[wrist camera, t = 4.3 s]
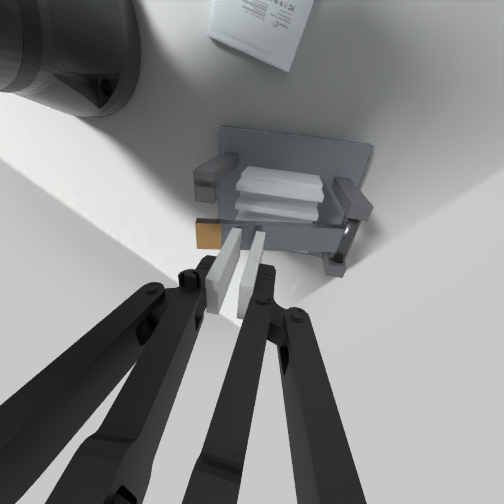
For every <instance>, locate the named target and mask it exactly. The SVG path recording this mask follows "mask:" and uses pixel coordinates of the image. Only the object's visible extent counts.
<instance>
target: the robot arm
mask: <svg viewBox="0 0 504 504" xmlns="http://www.w3.org/2000/svg"><path fill="white" fill-rule="evenodd" d="M139 68H140V41H139V33H138V27H137V22H136V17H135V13H134V10H133V6H132V3H131V0H0V92H7V93H14V94H16V95H19V96H21V97H24V98H27V99H29V100H32V101H35V102H37V103H40V104H43V105H45V106H48V107H50V108H53V109H56V110H58V111H61V112H64V113H67V114H70V115H75V116H82V117H100V116H107V115H110V114H113V113H115V112H117V111H118V110H120V109H121V108H122V107H123V106H124V105H125V104H126V103H127V102H128V100H129V99H130V97H131V95H132V93H133V91H134V89H135V86H136V83H137V79H138V75H139ZM241 233H242V229H240V228H234V227H233V228H232V229H231V231H230V233H229V235H228V237H227V239H226V241H225V243H224V244H223V246H222V248H221V250H220V252H219V254H218V256H217V257H216V256H210V255H207V256H205V257H204V258H202V260H201V261H200V263H199V264H198V266H197V268H196V269H195V270H194V269H188V270H184V271H182V272H180V273H179V274H178V278H179V287H177V288H166V289H165V288H164V286H163V284H161V283H158V282H152V283H148V284H146V285H144V286H142V287H141V288H140V289H139V290H137V291H136V292H135V293H134V294H133V295H131V296H130V297H129V298H128V299H127V300H125V301H124V302H123V303H122V304H121V305H119V306H118V307H117V308H116V309H115V310H114V311H112V312H111V313H110V314H109V315H108V316H107V317H105V318H104V319H103V320H102V321H100V322H99V323H98V324H97V325H96V326H94V327H93V328H92V329H91V330H90V331H89V332H87V333H86V334H85V335H84V336H83V337H81V338H80V339H79V340H78V341H77V342H75V343H74V344H73V345H72V346H71V347H69V348H68V349H67V350H66V351H65V352H63V353H62V354H61V355H60V356H59V357H58V358H56V359H55V360H54V361H53V362H52V363H50V364H49V365H48V366H47V367H46V368H44V370H42V371H41V372H40V373H39V374H37V375H36V376H35V377H34V378H32V380H30V381H29V382H28V383H27V384H26V385H24V386H23V387H22V388H21V389H20V390H18V391H17V392H16V393H15V394H14V395H12V396H11V397H10V398H9V399H7V400H6V401H5V402H4V403H3V404H2V405H0V504H15V503H16V502H17V501H18V500H19V499H20V498H21V497H22V496H23V495H24V494H25V493H26V491H27V490H28V489H29V488H30V487H31V486H32V485H33V484H34V482H35V481H36V480H37V479H38V478H39V477H40V475H41V474H42V473H43V472H44V471H45V470H46V468H47V467H48V466H49V465H50V464H51V463H52V461H53V460H54V459H55V458H56V457H57V455H58V454H59V453H60V452H61V451H62V449H63V448H64V447H65V446H66V445H67V443H68V442H69V441H70V440H71V439H72V438H73V436H74V435H75V434H76V433H77V432H78V430H79V429H80V428H81V427H82V426H83V424H84V423H85V422H86V421H87V420H88V419H89V417H90V416H91V415H92V414H93V413H94V411H95V410H96V409H97V408H98V407H99V406H100V404H101V403H102V402H103V401H104V400H105V398H106V397H107V396H108V395H109V394H110V392H111V391H112V390H113V389H114V387H115V386H116V385H117V384H118V383H119V382H120V381H121V379H122V378H123V377H124V376H125V375H126V373H127V372H128V371H129V370H130V369H131V368H132V366H133V365H134V364H135V363H136V364H135V366H134V368H133V369H132V371H131V373H130V375H129V377H128V378H127V380H126V382H125V383H124V385H123V387H122V389H121V391H120V392H119V394H118V396H117V398H116V400H115V401H114V403H113V405H112V407H111V408H110V410H109V412H108V414H107V415H106V417H105V419H104V421H103V422H102V424H101V426H100V427H99V429H98V430H97V431H96V432H95V433H94V434H92V435H91V436H89V437H88V438H86V439H85V440H84V442H83V443H82V444H81V445H80V446H79V448H78V449H77V451H76V452H75V454H74V456H73V457H72V459H71V461H70V462H69V464H68V466H67V467H66V469H65V471H64V472H63V474H62V476H61V477H60V479H59V481H58V482H57V484H56V486H55V488H54V489H53V491H52V493H51V494H50V496H49V498H48V499H47V501H46V503H45V504H142V502H143V499H144V496H145V494H146V491H147V487H148V484H149V480H150V477H151V470H152V464H153V460H154V457H155V454H156V451H157V449H158V446H159V443H160V440H161V437H162V434H163V432H164V429H165V426H166V423H167V420H168V418H169V415H170V412H171V409H172V406H173V403H174V401H175V398H176V395H177V392H178V389H179V387H180V384H181V381H182V378H183V375H184V372H185V370H186V366H187V364H188V361H189V358H190V355H191V353H192V350H193V347H194V344H195V341H196V339H197V336H198V333H199V330H200V327H201V324H202V322H203V318H204V311H205V308H206V312H207V313H213V314H219V311H220V308H221V306H222V303H223V300H224V298H225V295H226V292H227V290H228V287H229V284H230V281H231V279H232V276H233V273H234V271H235V268H236V265H237V262H238V260H239V257H240V246H241ZM265 234H266V232H259V231H256V234H255V237H254V240H253V243H252V247H251V250H250V253H249V256H248V260H247V263H246V266H245V269H244V273H243V276H242V279H241V282H240V287H239V299H238V311H237V318H238V319H244V320H243V323H242V326H241V329H240V332H239V335H238V338H237V342H236V345H235V348H234V351H233V354H232V357H231V360H230V364H229V367H228V370H227V373H226V376H225V379H224V382H223V385H222V389H221V392H220V395H219V398H218V401H217V404H216V408H215V411H214V414H213V417H212V420H211V423H210V426H209V430H208V433H207V436H206V439H205V442H204V445H203V448H202V451H201V454H200V456H199V458H198V459H197V461H196V464H195V466H194V469H193V471H192V474H191V477H190V480H189V483H188V486H187V489H186V493H185V496H184V498H183V501H182V504H237V500H238V494H239V489H240V483H241V477H242V471H243V465H244V460H245V454H246V449H247V443H248V438H249V432H250V427H251V421H252V416H253V411H254V405H255V400H256V394H257V389H258V384H259V378H260V373H261V368H262V362H263V356H264V351H265V346H266V340H269V341H270V342H272V343H274V344H276V345H277V350H278V358H279V365H280V373H281V381H282V388H283V396H284V404H285V411H286V419H287V426H288V434H289V441H290V450H291V458H292V464H293V472H294V480H295V488H296V496H297V504H367V503H366V500H365V497H364V494H363V490H362V487H361V484H360V480H359V477H358V474H357V471H356V467H355V464H354V461H353V458H352V454H351V451H350V448H349V445H348V441H347V438H346V435H345V431H344V428H343V425H342V422H341V419H340V415H339V412H338V409H337V405H336V402H335V399H334V396H333V392H332V389H331V386H330V383H329V380H328V376H327V373H326V370H325V367H324V363H323V360H322V357H321V353H320V350H319V347H318V344H317V340H316V337H315V334H314V331H313V327H312V324H311V321H310V317H309V316H308V314H307V313H306V312H305V311H304V310H302V309H301V308H297V307H291V308H289V309H287V310H286V309H284V308H282V307H280V306H279V305H278V304H277V303H276V302H275V301H274V297H273V295H274V285H275V275H276V270H275V268H274V266H272V265H266V264H261V261H262V254H263V247H264V240H265Z"/></svg>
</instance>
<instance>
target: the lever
mask: <svg viewBox="0 0 504 504" xmlns="http://www.w3.org/2000/svg"><path fill="white" fill-rule="evenodd" d="M360 222H361V220H358V219H351V218H347V217H346V215H344V218H343V220H342V223H341V225H335V224H312V223H290V222H268V221H245V220H223V219H207V218H197V219H196V223H195V224H196V240H197V249H221V248H222V246H223V244H224V243H225V241H226V239H227V237H228V235H229V233H230V231H231V229H232V228H233V227H234V228H240V229H242V233H241V246H240V250H251V247H252V243H253V240H254V237H255V234H256V231H259V232H266V234H265V240H264V247H263V250H271V251H307V252H331V253H330V256H329V258H330V259H331V260H332V261H334V262H336V263H343V262H344V261H345V258H346V256H347V254H348V251H349V249H350V246H351V244H352V242H353V239H354V237H355V234H356V232H357V230H358V227H359V225H360Z"/></svg>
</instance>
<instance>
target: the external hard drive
mask: <svg viewBox="0 0 504 504" xmlns="http://www.w3.org/2000/svg"><path fill="white" fill-rule="evenodd" d="M313 3H314V0H213V1H212V8H211V14H210V20H209V26H208V32H207V36H209V37H210V38H212V39H214V40H217V41H219V42H221V43H223V44H225V45H228V46H230V47H232V48H234V49H236V50H239V51H241V52H244V53H246V54H248V55H250V56H253V57H255V58H256V59H258V60H260V61H262V62H265V63H267V64H269V65H271V66H273V67H276V68H278V69H280V70H282V71H284V72H286V73H289V70H290V68H291V65H292V62H293V59H294V56H295V54H296V51H297V48H298V45H299V42H300V39H301V37H302V34H303V31H304V28H305V25H306V23H307V20H308V17H309V14H310V11H311V9H312V6H313Z"/></svg>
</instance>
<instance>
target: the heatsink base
mask: <svg viewBox="0 0 504 504" xmlns="http://www.w3.org/2000/svg"><path fill="white" fill-rule="evenodd" d="M372 148H373V145H371V144H367V143H358V142H350V141H342V140H333V139H325V138H317V137H308V136H300V135H291V134H283V133H275V132H266V131H258V130H249V129H241V128H233V127H224V126H222V127H219V156H217V157H216V158H214V159H212V160H210V161H209V162H207V163H205V164H203V165H201V166H200V167H198V168H196V169H194V186H195V201H200V202H206V203H213V204H214V203H215V202H216V201H217V185H218V184H219V219H223V220H245V221H268V222H290V223H312V224H335V225H341V223H342V220H343V218H344V215H346V217H347V218H351V219H358V220H364V221H367V220H368V218H369V216H370V213H371V211H372V209H373V206H372V204H371V203H370V202H369V201H368V200H367V199H366V197H365V196H364V195H363V194H362V193H361V191H360V190H359V189H358V186H359V183H360V181H361V178H362V175H363V173H364V170H365V167H366V165H367V162H368V159H369V157H370V154H371V151H372ZM290 252H296V253H302V254H308V255H314V256H320V257H322V259H323V265H324V270H325V275H329V276H335V277H340V278H342V277H343V275H344V273H345V271H346V269H347V267H346V264H345V261H344V262H343V263H336V262H334V261H332V260H331V259H330V258H329V256H330V253H331V252H307V251H290Z"/></svg>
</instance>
